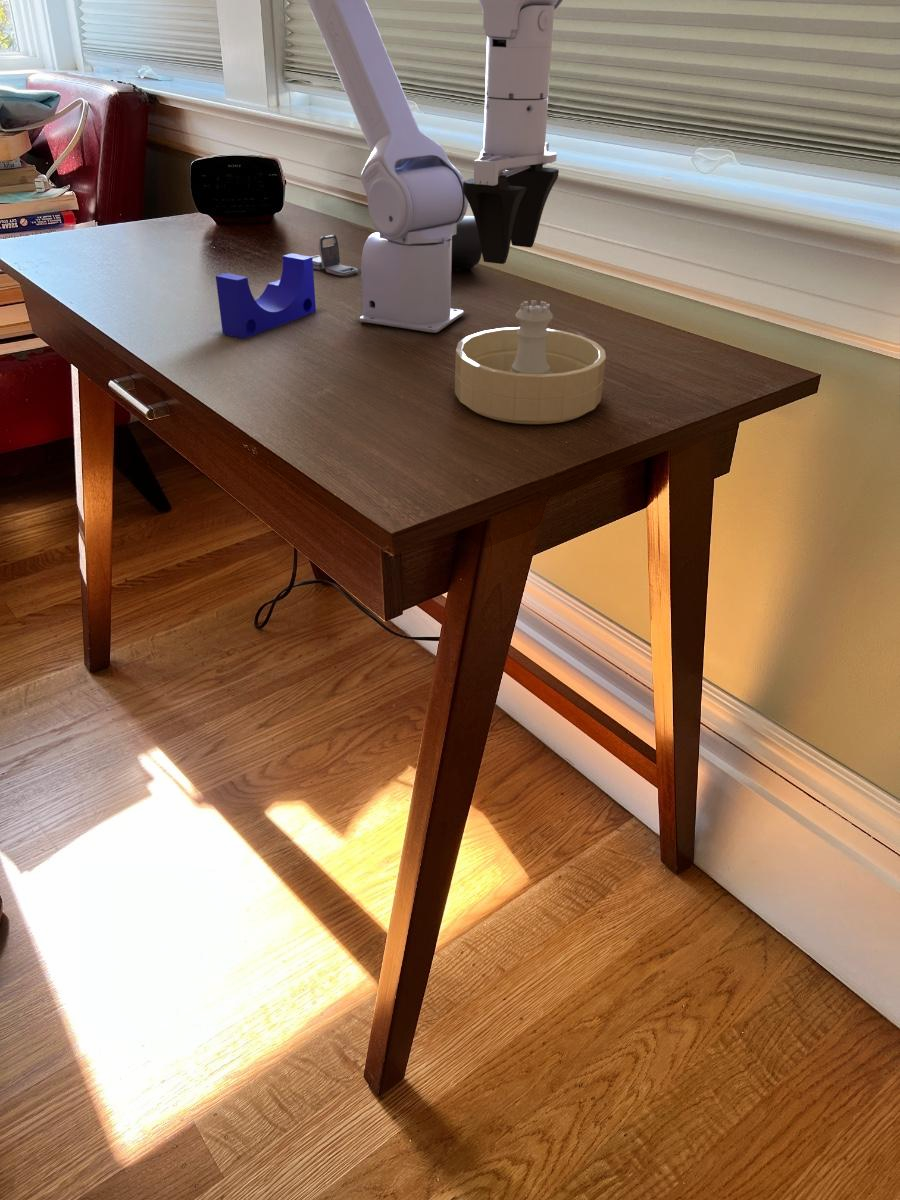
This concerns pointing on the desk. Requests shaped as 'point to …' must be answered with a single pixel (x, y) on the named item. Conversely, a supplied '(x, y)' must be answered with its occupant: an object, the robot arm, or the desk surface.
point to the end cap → (466, 245)
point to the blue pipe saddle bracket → (267, 299)
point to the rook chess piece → (532, 338)
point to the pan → (529, 377)
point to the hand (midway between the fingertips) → (508, 253)
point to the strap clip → (331, 259)
